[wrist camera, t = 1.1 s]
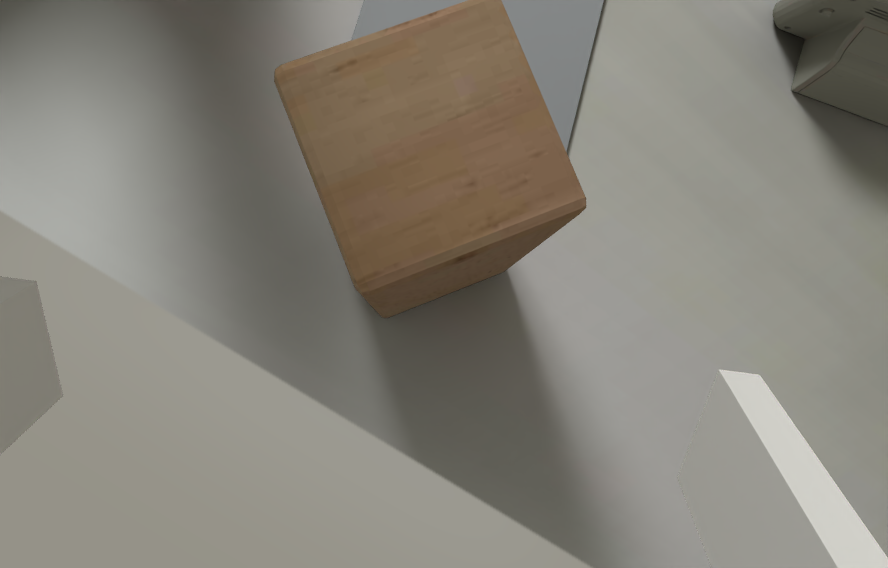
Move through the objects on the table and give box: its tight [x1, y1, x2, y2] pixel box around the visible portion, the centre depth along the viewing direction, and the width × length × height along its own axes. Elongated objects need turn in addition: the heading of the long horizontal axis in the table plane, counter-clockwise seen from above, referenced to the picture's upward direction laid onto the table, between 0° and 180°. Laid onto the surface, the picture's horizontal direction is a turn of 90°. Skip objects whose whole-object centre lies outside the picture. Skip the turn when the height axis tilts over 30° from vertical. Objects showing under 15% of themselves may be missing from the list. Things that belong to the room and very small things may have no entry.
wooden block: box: [274, 0, 586, 318], centre depth 33 cm, size 10×10×20 cm
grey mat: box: [351, 0, 604, 151], centre depth 46 cm, size 22×18×1 cm
